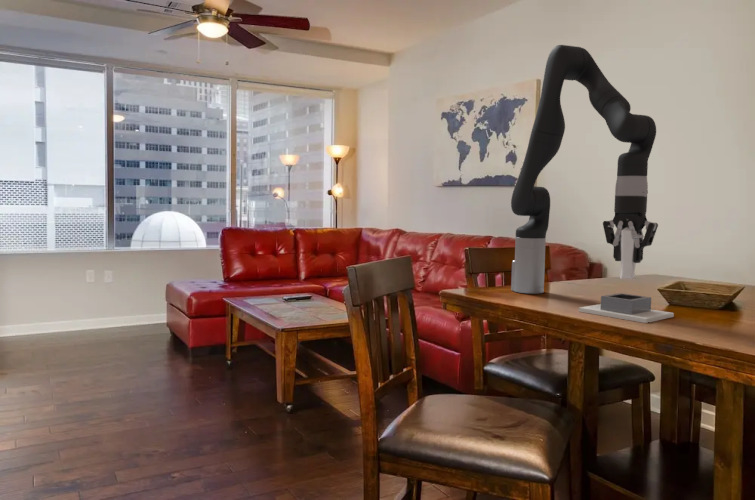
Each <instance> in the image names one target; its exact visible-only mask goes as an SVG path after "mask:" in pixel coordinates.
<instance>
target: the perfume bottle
mask: <svg viewBox="0 0 755 500" xmlns="http://www.w3.org/2000/svg"><path fill="white" fill-rule="evenodd" d="M637 235H639V234H637ZM634 248H636V247H635V243H634V239H632V235H631V231H630V228H627V227H626V228H624V229H623V230H621V261H620V274H619V278H620V280H621V279H622V280H624V279H625V280H636V275H635V274H636V272H635V269H636V264H637V263H634Z"/></svg>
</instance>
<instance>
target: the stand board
mask: <svg viewBox="0 0 755 500" xmlns="http://www.w3.org/2000/svg"><path fill="white" fill-rule="evenodd" d="M600 309H601V303H598V304H593V305H587V306H579V307H578V312H581V313H585V314H591V315H595V316H603V317H609V318H613V319H621V320H626V321H631V322H636V323H643V324H648V322H649V323H652V322H656V321H661V320H665V319H666V320H667V319H671V318H675V317H674V315H675V313H674V312H670V311H663V310H657V309H652V308H651V311H648V312H643V313H638V314H633V315H630V314H624V313H618V312H612V311H606V310H600Z"/></svg>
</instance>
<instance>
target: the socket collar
mask: <svg viewBox="0 0 755 500" xmlns="http://www.w3.org/2000/svg"><path fill="white" fill-rule="evenodd" d="M600 304H601V309H600V310H606V311H612V312H618V313H624V314H630V315H633V314H638V313H643V312H648V311H651V309H652V297H650V296H645V295H643V296H642V295H637V294H629V293H623V292H619V293H613V294H612V293H611V294H606V295H601V296H600Z"/></svg>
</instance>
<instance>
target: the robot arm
mask: <svg viewBox="0 0 755 500" xmlns="http://www.w3.org/2000/svg"><path fill="white" fill-rule="evenodd" d="M543 75H544V76H543V81H542V87H541V94H540V97H539V101H538V102H539V103H538V105H537V111H536V113H535V118H534V121H533V124H532V128H531V132H530V136H529V139H528V144H527V145H528V146H527V149H526V153H525V157H524V160H523V162H522V166H521V169H520V171H519V174H518V178H517V180H516V183H515V186H514V188H513V191H512V194H511V199H510V206H511V211H512V213H513V214H514V215H516V216H520V217H529V218H528V220H527V222H526V223H525V224H524V225H521V226H519V227H518V228H516V229H515V245H514V260H512V262H511V280H510V281H511V283H510V290H511V291H513V292H515V293H521V294H531V295H532V294H543V293H544V289H545V288H544V287H545V267H546V266H545V265H546V263H545V261H546V240H547V239H546V238H547V237H546V236H547V231H548V228H549V222H550V214H551V213H550V211H551V195H550V192H549V191H548V189H547V188H546V187H545V186H535V185H536V182H537V179H538V177H539V175H540V173H541V172H542V171H543V170H544V168H545V167H546V166H547V165H548V164H549V163H550V162H551V161H552V160H553V159H554V157H555V156H556V155H557V154H558V152H559V150H560V148H561V144H562V142H563V139H564V138H563V137H564V135H565V130H566V124H565V123H566V122H565V117H564V112H563V109H562V108H563V107H562V104H561V96H562V95H561V94H562V90H563V85H564V81H576V82H578V83H580V84H581V85H582V86H584V87H585V89H586V90H587V92H588V98H589V102H590V104H591V105H592V106H591V107H593V108H594V110H595V111H596V112H597V113H598V114H599V115H600V116H601V117H602V118H603V120H604V121H605V123H606V125H607V128H608V130H609V132H610V133H611V136H613V137H614V138H615V139H616V140H618V141H619V142H622V143H630V146H629V149H628V152H622V153H621V154H620V155H619V156H618V159H617V170H616V171H617V172H616V173H617V174H616V182H615V188H614V189H615V190H614V208H613V210H614V211H613V212H614V216H613V219H611V220H603V222H602V227H603V232H604V235H605V239H606V243H607V244H609V245H612V246H613V254H612V255H613V256H612V257H613V259H614V261H615V262H621V230H623V229H624V228H626V227H627V228H630V231H631V235H632V239H634V243H635V247H636V248H634V263H636V264H640V263H641V262H642V261H643V259H644V257H643V256H644V249H645V248H646V247H649V246H651V245H652V244H653V242H654V239H655V236H656V233H657V230H658V227H659V224H658V223H657V222H652V221H649V220H648V219H647V209H648V208H647V207H648V193H649V192H648V190H649V189H648V186H649V185H648V168H649V165H648V164H649V161H648V160H649V159H650V155H651V153H652V149H653V146H654V144H655V143H654V142H655V139H656V136H657V124H656V122H655V121H654V119H653V118H652V116H649V115H645V114H634V113H631V104H630V102H629V101H628V100H627V98H626V97H624V95H623V94H621V92H619V90H617V88H615V86H613V85H612V83H611V82H610V81H609V79H607V77H606V75H604V73H603V71H602V70H601V68H600V67H599V66H598V63H596V60H594V58H593V56H592V55H591V53H590V52H589V50H587V49H585V48H584V47H580V46H573V45H565V44H557V45H556V46H554V47H553V48H552V49H551V51H550V53H549V54H548V57H547V59H546V64H545V69H544V74H543ZM614 227H615V228H616V230H614ZM644 227H645V230H646V231H645V234H643V229H644ZM637 234H639V235H637Z"/></svg>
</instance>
